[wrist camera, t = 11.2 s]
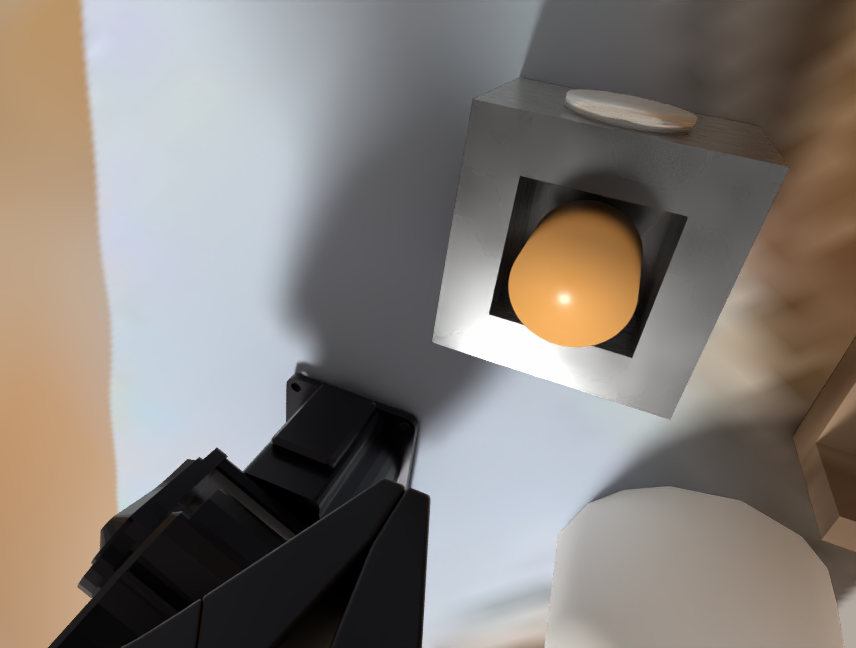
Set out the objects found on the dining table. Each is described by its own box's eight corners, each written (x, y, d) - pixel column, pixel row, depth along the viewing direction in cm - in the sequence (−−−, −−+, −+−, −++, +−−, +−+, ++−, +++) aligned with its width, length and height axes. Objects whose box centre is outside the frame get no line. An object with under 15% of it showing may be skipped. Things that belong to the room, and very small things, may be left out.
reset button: (626, 290, 18) (615, 362, 14) (531, 264, 18) (497, 326, 15) (660, 196, 16) (657, 250, 12) (554, 171, 17) (523, 216, 13)
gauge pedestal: (670, 333, 20) (670, 419, 16) (477, 277, 21) (431, 342, 17) (764, 115, 16) (795, 152, 12) (521, 67, 18) (475, 85, 13)
